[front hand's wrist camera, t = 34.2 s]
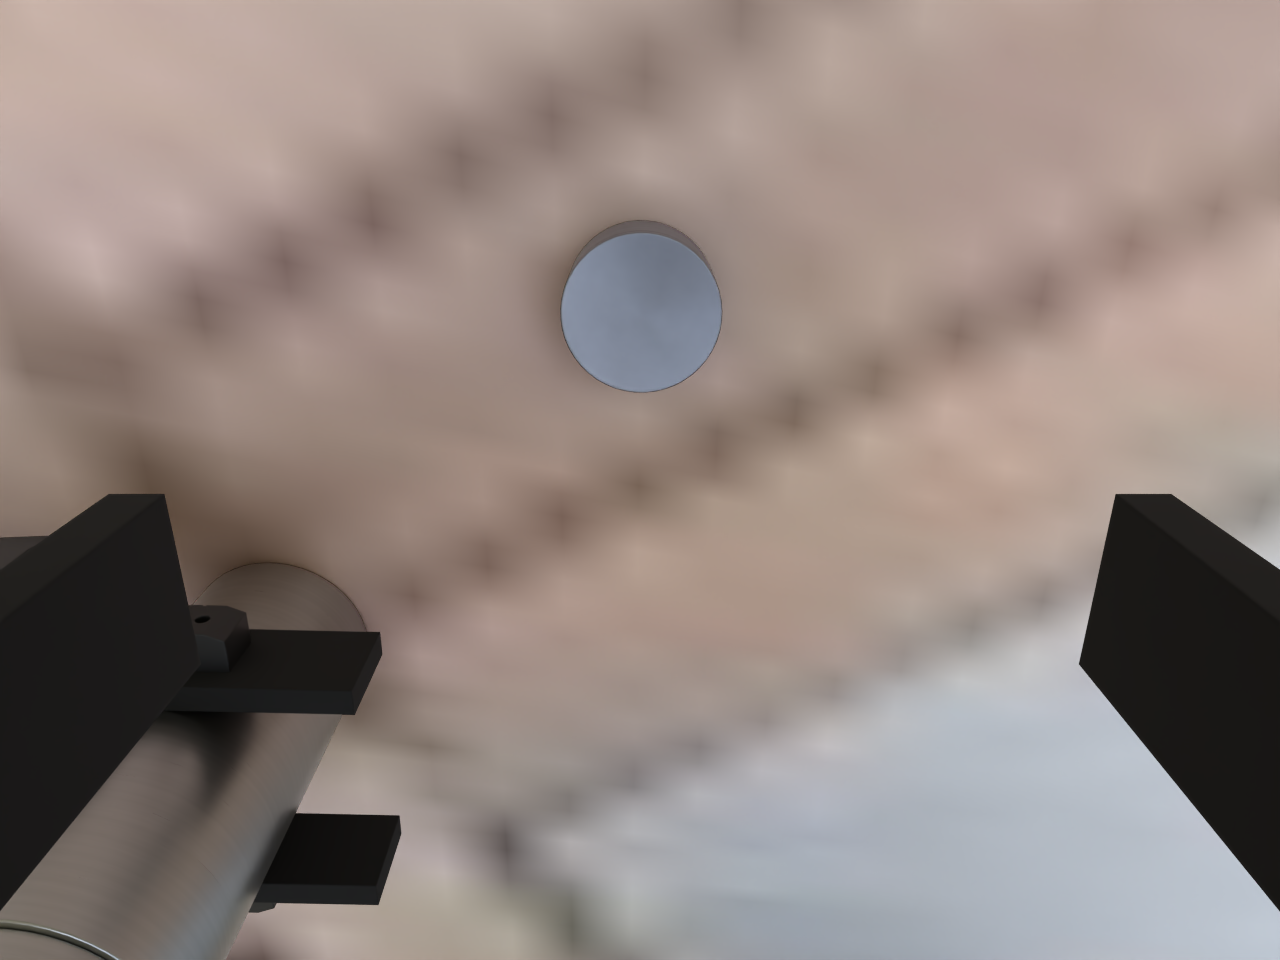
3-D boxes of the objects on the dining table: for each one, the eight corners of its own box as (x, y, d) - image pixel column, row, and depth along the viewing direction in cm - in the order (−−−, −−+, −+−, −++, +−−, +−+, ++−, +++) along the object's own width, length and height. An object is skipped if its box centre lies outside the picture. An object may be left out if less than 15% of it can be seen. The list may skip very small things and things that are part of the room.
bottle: (171, 664, 32) (-489, 1474, 13) (228, 533, 30) (-463, 1278, 11) (330, 731, 33) (-70, 1562, 14) (395, 610, 31) (26, 1399, 12)
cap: (742, 263, 26) (751, 279, 24) (672, 392, 28) (674, 418, 25) (607, 192, 25) (603, 202, 23) (542, 328, 27) (534, 350, 25)
